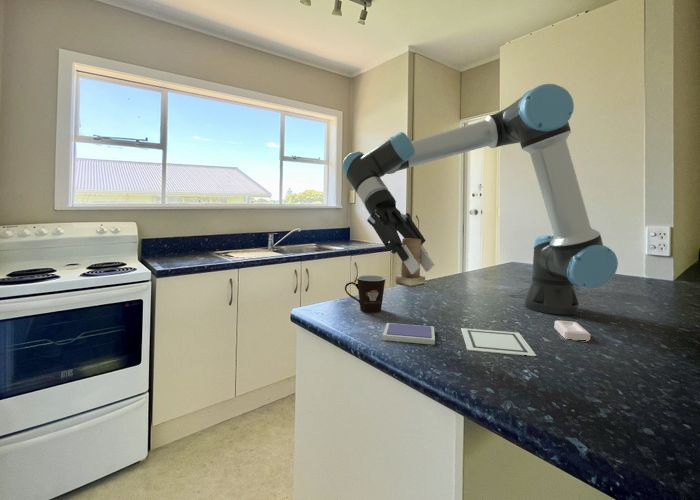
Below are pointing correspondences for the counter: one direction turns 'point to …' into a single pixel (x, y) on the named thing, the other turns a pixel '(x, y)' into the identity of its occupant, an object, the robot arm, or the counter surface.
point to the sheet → (496, 342)
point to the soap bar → (571, 330)
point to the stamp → (406, 276)
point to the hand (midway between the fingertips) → (423, 269)
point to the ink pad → (409, 333)
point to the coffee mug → (369, 292)
